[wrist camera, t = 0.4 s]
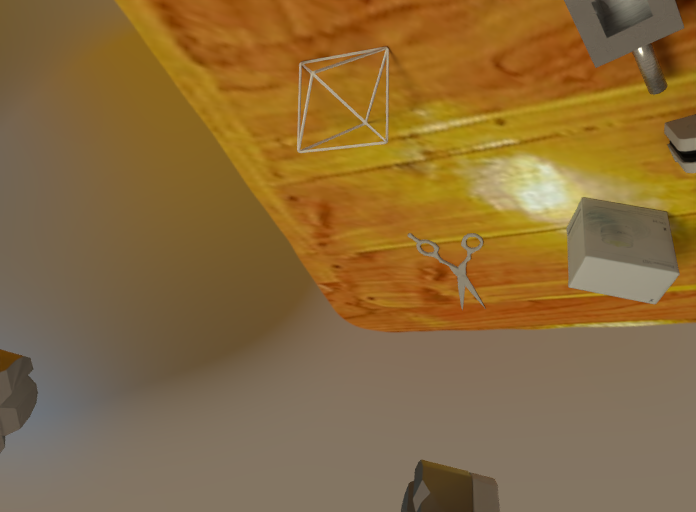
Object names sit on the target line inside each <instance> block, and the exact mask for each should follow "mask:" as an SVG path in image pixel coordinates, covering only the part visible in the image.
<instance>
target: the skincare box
mask: <svg viewBox="0 0 696 512" xmlns="http://www.w3.org/2000/svg"><path fill="white" fill-rule="evenodd" d="M567 236H568V271H569V281H568V286H569V287H570V288H575V289H580V290H585V291H590V292H595V293H600V294H606V295H611V296H616V297H621V298H626V299H631V300H636V301H641V302H646V303H651V304H656V303H657V302H658V301H659V300H660V298H661V297H662V296H663V295H664V293H665V292H666V291H667V289H668V288H669V287H670V286H671V285H672V283H673V282H674V281H675V279H676V278H677V277H678V275H679V270H678V265H677V260H676V255H675V250H674V245H673V240H672V235H671V230H670V225H669V220H668V215H667V212H664V211H659V210H653V209H647V208H641V207H636V206H630V205H624V204H619V203H613V202H607V201H601V200H596V199H590V198H584V197H583V198H582V199H581V201H580V203H579V205H578V207H577V209H576V211H575V213H574V215H573V217H572V219H571V221H570V223H569V225H568V226H567Z"/></svg>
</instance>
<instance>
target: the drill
mask: <svg viewBox="0 0 696 512" xmlns="http://www.w3.org/2000/svg"><path fill="white" fill-rule="evenodd" d="M564 1H565V3H566V5H567V8H568V10H569V12H570V14H571V16H572V18H573V20H574V22H575V25H576V27H577V29H578V31H579V33H580V35H581V37H582V40H583V42H584V44H585V46H586V48H587V50H588V52H589V54H590V57H591V59H592V61H593V63H594V65H595V67H596V68H597V67H599V66H601V65H603V64H605V63H608V62H610V61H612V60H614V59H617V58H619V57H621V56H623V55H625V54H628V53H630V52H632V53H633V55H634V57H635V60H636V62H637V65H638V67H639V69H640V72H641V74H642V77H643V79H644V81H645V84H646V86H647V89H648V91H649V93H650V94H659V93H661V92H663V91H664V90H665V89H666V88H667V83H666V80H665V77H664V75H663V72H662V70H661V67H660V65H659V62H658V60H657V57H656V54H655V52H654V49H653V47H652V44H651V43H652V42H654V41H657V40H659V39H661V38H663V37H665V36H668V35H670V34H672V33H674V32H676V31H679V30H681V29H683V28H684V25H683V22H682V19H681V16H680V13H679V10H678V7H677V3H676V0H564Z"/></svg>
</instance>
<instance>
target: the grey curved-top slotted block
mask: <svg viewBox="0 0 696 512" xmlns="http://www.w3.org/2000/svg"><path fill="white" fill-rule="evenodd" d="M664 133H665V134H666V136H667V137H668V138H669V139H670V144H667V145H668V147H669V149H670V151H671V154H672V156H673V158H674V160H675V162H678V163H679V164H680V165H681V167H682V168H683V169H684V171H685V172H687V173H696V114H695V115H692V116H688V117H685V118H681V119H677V120H674V121H670V122H667V123H665V132H664Z"/></svg>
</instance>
